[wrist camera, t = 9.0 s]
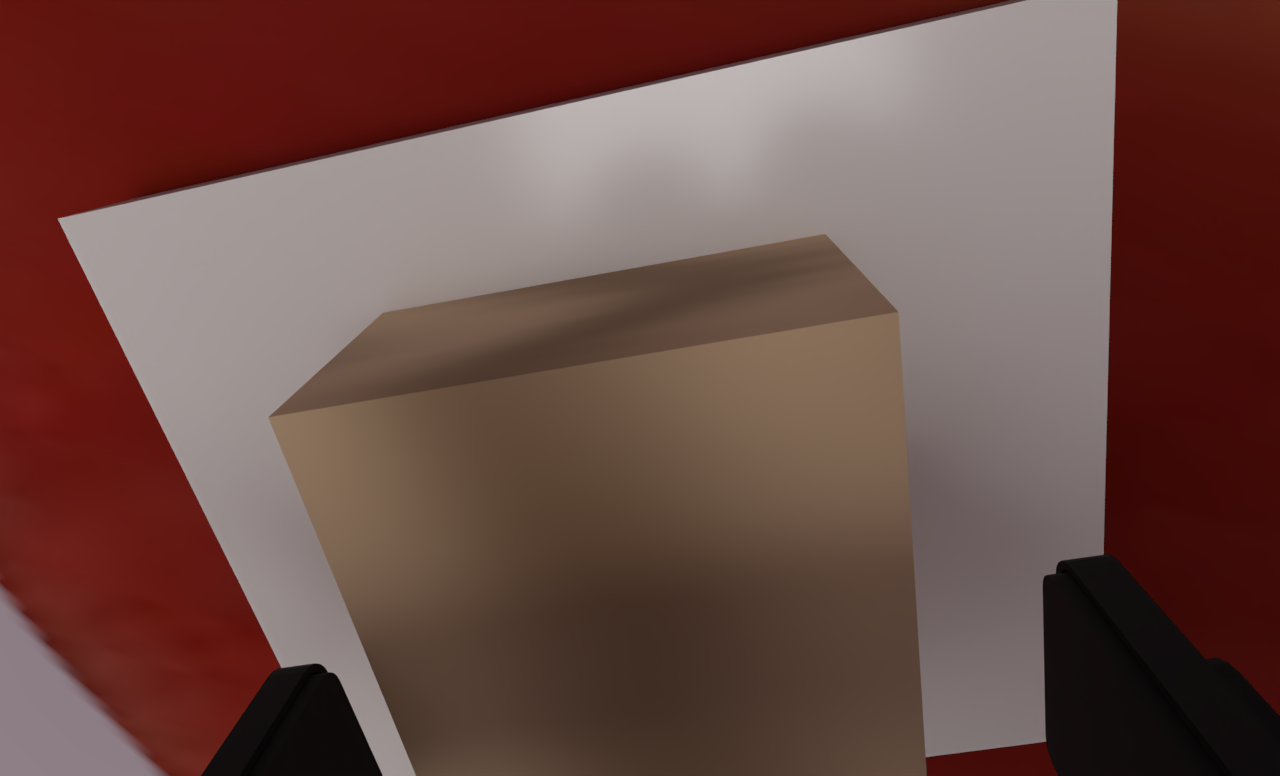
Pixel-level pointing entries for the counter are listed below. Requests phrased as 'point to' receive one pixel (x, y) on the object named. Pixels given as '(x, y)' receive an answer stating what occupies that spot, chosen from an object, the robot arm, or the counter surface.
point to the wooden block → (629, 521)
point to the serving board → (674, 230)
